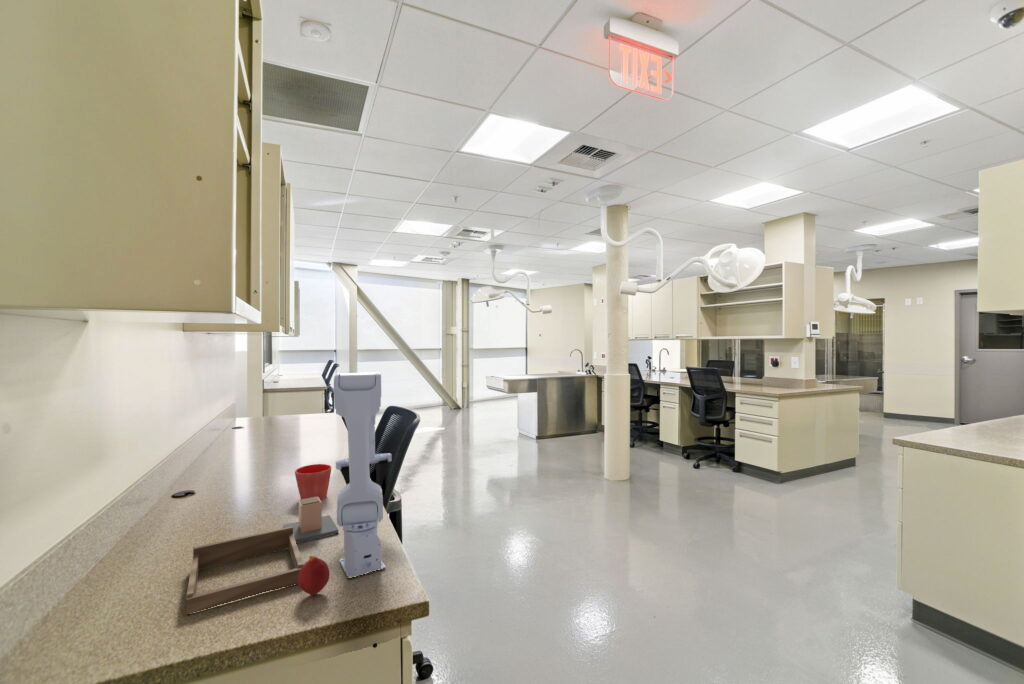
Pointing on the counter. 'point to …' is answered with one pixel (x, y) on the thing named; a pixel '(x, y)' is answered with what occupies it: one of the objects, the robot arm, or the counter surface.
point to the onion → (313, 575)
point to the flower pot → (313, 480)
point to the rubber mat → (326, 529)
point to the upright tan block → (310, 514)
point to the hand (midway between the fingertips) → (364, 491)
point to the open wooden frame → (236, 552)
